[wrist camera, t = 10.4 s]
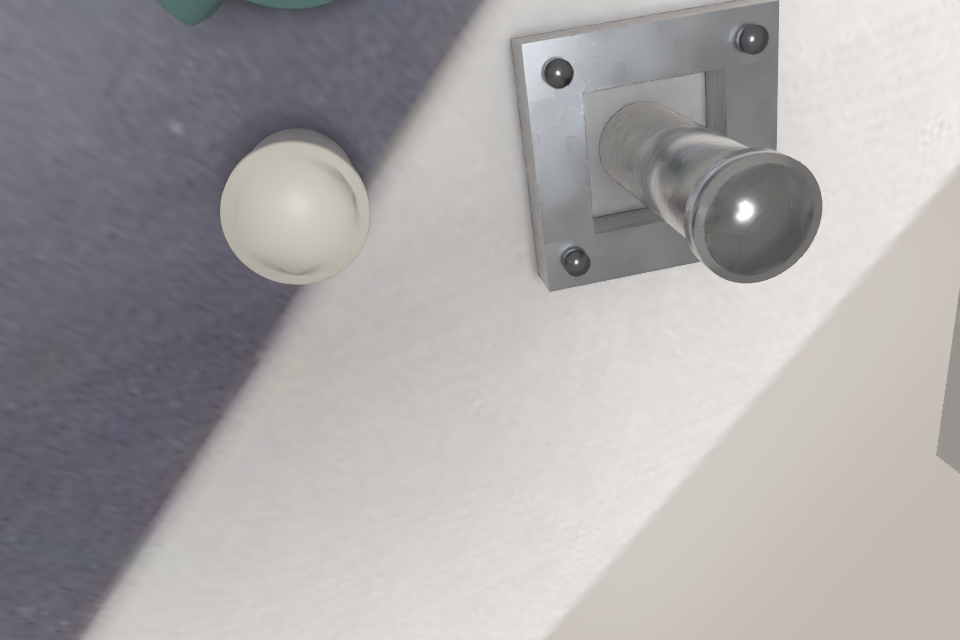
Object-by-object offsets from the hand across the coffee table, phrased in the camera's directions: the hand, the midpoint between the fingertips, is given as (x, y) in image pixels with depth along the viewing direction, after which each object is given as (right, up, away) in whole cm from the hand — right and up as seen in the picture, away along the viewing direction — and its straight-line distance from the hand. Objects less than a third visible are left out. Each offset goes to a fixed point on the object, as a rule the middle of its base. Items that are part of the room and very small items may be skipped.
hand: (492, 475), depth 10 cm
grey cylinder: (+7, +10, +28) cm, 31 cm away
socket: (+7, +10, +28) cm, 31 cm away
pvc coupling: (-8, +8, +26) cm, 29 cm away
